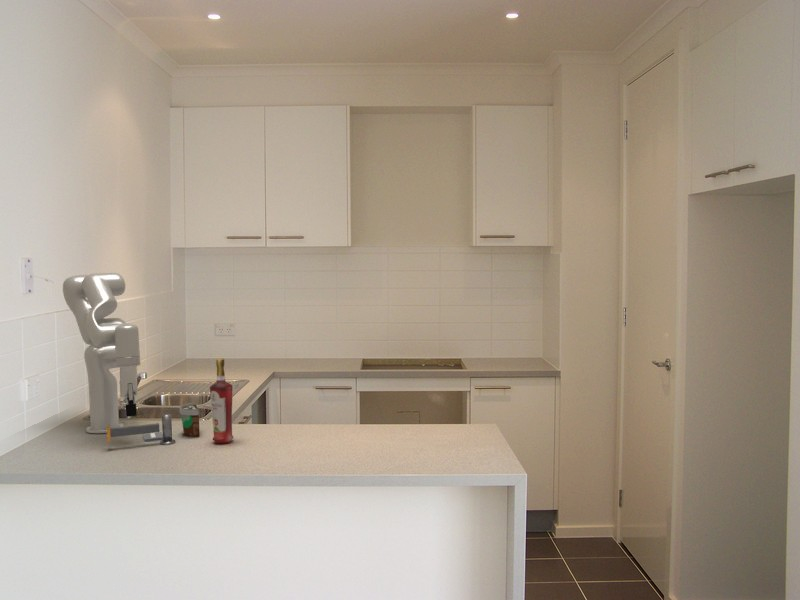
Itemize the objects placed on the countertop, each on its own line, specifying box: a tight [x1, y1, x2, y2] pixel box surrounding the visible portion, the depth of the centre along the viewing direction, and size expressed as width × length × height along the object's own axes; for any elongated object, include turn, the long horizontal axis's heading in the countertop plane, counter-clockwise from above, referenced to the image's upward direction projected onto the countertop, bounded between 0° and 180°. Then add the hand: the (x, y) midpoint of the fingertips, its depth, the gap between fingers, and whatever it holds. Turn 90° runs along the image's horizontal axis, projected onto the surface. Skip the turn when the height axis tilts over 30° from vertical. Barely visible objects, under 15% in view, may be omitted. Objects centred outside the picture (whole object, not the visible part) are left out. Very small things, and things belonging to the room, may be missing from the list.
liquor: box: [209, 358, 234, 445], centre depth 232 cm, size 7×7×28 cm
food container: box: [179, 402, 201, 438], centre depth 244 cm, size 12×6×10 cm, turn 21°
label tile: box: [142, 431, 163, 443], centre depth 240 cm, size 8×6×1 cm
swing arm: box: [106, 422, 161, 442], centre depth 229 cm, size 16×4×4 cm, turn 114°
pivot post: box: [159, 413, 176, 446], centre depth 233 cm, size 5×5×10 cm
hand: (131, 415), depth 234 cm, fingers closed
